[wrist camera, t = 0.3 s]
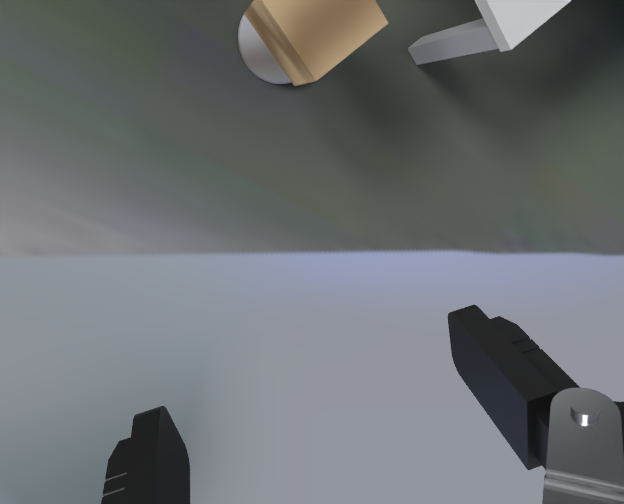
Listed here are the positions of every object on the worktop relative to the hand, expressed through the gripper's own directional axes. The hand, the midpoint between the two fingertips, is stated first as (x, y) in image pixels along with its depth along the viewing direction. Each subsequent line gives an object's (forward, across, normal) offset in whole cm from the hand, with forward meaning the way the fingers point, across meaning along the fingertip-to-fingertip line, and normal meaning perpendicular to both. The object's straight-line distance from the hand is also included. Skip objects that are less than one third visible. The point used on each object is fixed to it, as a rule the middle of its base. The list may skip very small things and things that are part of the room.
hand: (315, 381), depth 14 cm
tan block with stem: (+29, -5, -5) cm, 30 cm away
